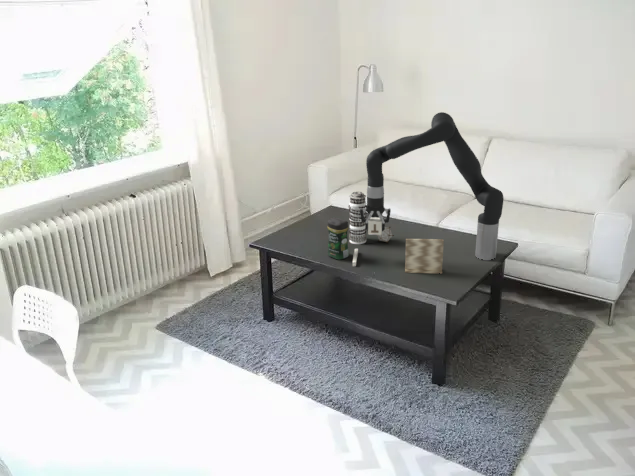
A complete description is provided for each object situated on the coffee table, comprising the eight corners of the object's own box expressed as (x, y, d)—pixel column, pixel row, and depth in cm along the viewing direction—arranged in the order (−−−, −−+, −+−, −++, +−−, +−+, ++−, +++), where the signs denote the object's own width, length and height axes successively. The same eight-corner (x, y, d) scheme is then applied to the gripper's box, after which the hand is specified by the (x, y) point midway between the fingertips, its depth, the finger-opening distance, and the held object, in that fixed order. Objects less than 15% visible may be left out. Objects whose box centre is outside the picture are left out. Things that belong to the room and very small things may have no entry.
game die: (387, 247, 300) (400, 232, 297) (380, 247, 293) (393, 232, 290) (375, 236, 304) (387, 221, 301) (368, 235, 296) (380, 220, 293)
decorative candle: (367, 237, 304) (367, 190, 295) (366, 244, 295) (367, 195, 286) (349, 237, 305) (348, 190, 296) (348, 244, 296) (347, 195, 287)
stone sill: (354, 252, 286) (354, 248, 286) (357, 252, 286) (357, 248, 285) (352, 266, 272) (352, 262, 271) (355, 266, 271) (355, 262, 271)
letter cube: (368, 229, 276) (368, 217, 274) (381, 230, 275) (382, 217, 273) (368, 234, 270) (368, 222, 268) (381, 234, 270) (381, 222, 267)
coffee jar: (325, 255, 284) (324, 218, 277) (337, 251, 288) (336, 214, 282) (339, 261, 277) (338, 223, 270) (351, 256, 282) (351, 219, 275)
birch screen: (405, 272, 264) (406, 240, 258) (404, 268, 268) (405, 237, 262) (442, 273, 262) (443, 241, 256) (441, 269, 266) (443, 238, 260)
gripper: (358, 197, 264) (358, 233, 270) (391, 197, 262) (391, 233, 268) (359, 192, 271) (359, 227, 277) (391, 192, 269) (391, 228, 275)
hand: (375, 230), depth 273 cm, fingers closed on letter cube, 6 cm apart
